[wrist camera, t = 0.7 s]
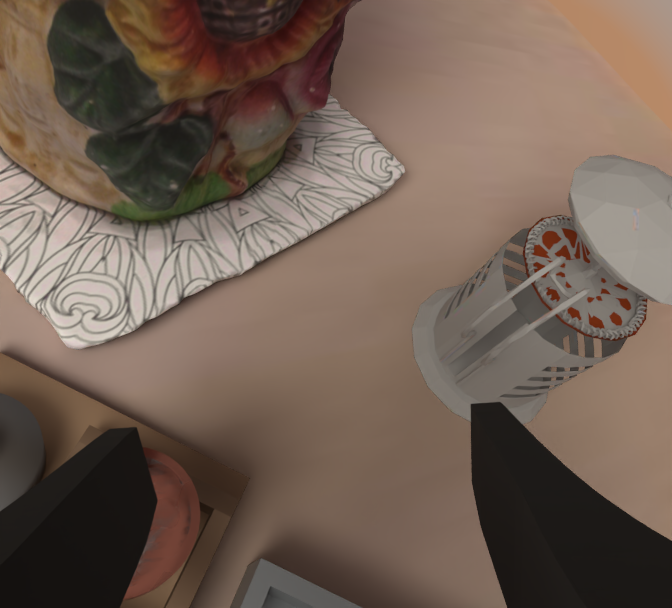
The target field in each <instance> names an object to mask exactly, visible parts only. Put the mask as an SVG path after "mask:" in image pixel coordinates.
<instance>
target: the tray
mask: <svg viewBox="0 0 672 608" xmlns="http://www.w3.org/2000/svg"><path fill="white" fill-rule="evenodd" d="M230 608H362V607H360V606H358V605H356V604H354V603H352V602H350V601H348V600H346V599H344V598H342V597H340V596H338V595H335V594H333V593H331V592H329V591H327V590H325V589H323V588H321V587H319V586H317V585H315V584H313V583H311V582H309V581H307V580H305V579H303V578H301V577H299V576H297V575H295V574H293V573H291V572H289V571H287V570H285V569H283V568H281V567H278V566H276V565H274V564H272V563H270V562H268V561H266V560H264V559H262V558H260V559H259V560H257V561H255V562H253V563H251V564H249V565H248V567H247V569H246V572H245V574H244V576H243V579H242V581H241V583H240V586H239V588H238V590H237V593H236V595H235V597H234V600H233V602H232V604H231V606H230Z"/></svg>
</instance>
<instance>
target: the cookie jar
mask: <svg viewBox="0 0 672 608" xmlns="http://www.w3.org/2000/svg"><path fill="white" fill-rule="evenodd" d="M360 1H361V0H0V269H1V270H2V271H3V272H4V273H5V274H6V275H7V276H8V277H9V278H10V279H11V280H12V281H13V283H14V284H15V287H16V289H17V292H18V293H20V294H21V295H22V296H23V297H24V298H25V300H26V302H27V303H29V304H30V305H32V306H33V307H34V308H36V309H37V310H38V311H39V312H40V313H41V314H42V315H43V316H44V317H45V318H46V319H47V320H48V321H49V322H50V323H51V324H52V326H53V327H54V328H55V330H56V331H57V333H58V335H59V337H60V339H61V340H62V341H63V342H64V344H65V345H66V346H67V347H69V348H73V349H76V350H80V349H83V348H87V347H90V346H94V345H98V344H101V343H105V342H108V341H111V340H113V339H115V338H118V337H120V336H122V335H125V334H127V333H130V332H132V331H135V330H136V329H138V328H139V327H140V326H141V325H142V324H143V323H145V322H146V321H148V320H150V319H153V318H155V317H157V316H159V315H160V314H162V313H164V312H165V311H167V310H168V309H170V308H171V307H174V306H176V305H178V304H179V303H180V302H181V300H182V299H183V298H185V297H187V296H190V295H193V294H195V293H197V292H199V291H201V290H203V289H204V288H206V287H208V286H210V285H212V284H213V283H214V282H217V281H220V280H224V279H229V278H232V277H235V276H239V275H242V274H243V273H244V272H245V271H247V270H249V269H251V268H252V267H254V266H256V265H257V264H259V263H260V262H262V261H263V260H265V259H266V258H268V257H270V256H272V255H274V254H276V253H278V252H280V251H282V250H284V249H286V248H288V247H290V246H292V245H294V244H296V243H297V242H299V241H301V240H302V239H304V238H306V237H308V236H310V235H311V234H313V233H315V232H316V231H318V230H320V229H322V228H324V227H326V226H327V225H329V224H331V223H332V222H334V221H336V220H337V219H339V218H341V217H343V216H344V215H346V214H348V213H350V212H352V211H354V210H356V209H357V208H359V207H360V206H362V205H364V204H367V203H369V202H371V201H373V200H374V199H376V198H378V197H379V196H381V195H383V194H384V193H385V192H387V191H388V190H389V189H390V188H391V187H392V186H393V185H394V184H395V183H396V181H397V180H398V179H399V178H400V177H401V176H402V175H403V173H404V172H405V169H404V166H403V165H402V164H401V163H400V162H398V161H397V159H396V158H395V156H394V155H393V154H391V153H390V152H388V151H387V150H386V148H385V147H384V145H383V144H382V143H381V142H379V141H378V140H377V138H376V137H375V136H374V134H373V133H372V132H371V131H370V130H369V129H368V128H367V127H366V126H364V125H363V124H361V123H360V122H359V121H358V120H357V119H356V118H355V117H353V116H351V115H350V113H349V112H348V111H347V110H344V109H341V108H340V105H339V102H338V101H337V100H336V99H335V98H333V97H332V96H331V95H329V92H330V88H331V75H332V72H333V65H334V60H335V58H336V56H337V53H338V51H339V48H340V46H341V43H342V40H343V32H344V23H345V16H346V14H347V12H348V11H349V9H350V8H352V7H353V6H354V5H355V4H356V3H358V2H360Z"/></svg>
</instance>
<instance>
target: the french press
mask: <svg viewBox="0 0 672 608" xmlns="http://www.w3.org/2000/svg"><path fill="white" fill-rule="evenodd" d="M568 202H569V206H570V210H571V214H572V217H567V216H563V215H558V216H552V217H546V218H541V219H540V220H539V221H538V222H537V223H536V224H535V225H534V226H533V227H532V228H527V229H522V230H521V231H519V232H518V233H517V234H516V235H515V236H513V237H512V238H511V239H510V240H509V241H508V242H507V243H505V244H504V245H503V246H502V247H501V248H500V250H499V251H498V252H497V253H495V254H494V255H493V256H492V257H491V258H490V259H489V260H488V261H487V263H486V264H485V265H483V266H482V267H481V268H480V269H479V270H478V271H477V272H476V273H475V274H474V275H473V276H472V277H471V278H470V279H471V281H470V282H469V283H468V281H469V280H470V279H469V280H467V281H466V282H465V283H464V284H463V285H459V286H454V287H450V288H445V289H441V290H437V291H436V292H435V293H434V294H433V295H432V296H430V297H429V298H428V299H427V300H426V301H425V302H424V303H422V304H421V305H420V308H419V311H418V313H417V316H416V319H415V322H414V324H413V327H412V335H413V348H414V358H415V360H416V362H417V364H418V366H419V368H420V371H421V373H422V375H423V377H424V379H425V381H426V384H427V386H428V387H429V388H430V389H431V390H432V392H433V393H434V394H435V395H436V396H437V397H438V398H439V399H440V400H441V401H442V402H443V403H444V404H445V405H446V407H447V408H448V409H449V410H450V411H451V412H453V413H455V414H457V415H459V416H460V417H462V418H464V419H466V420H468V421H470V422H471V404H475V403H489V402H501V403H502V404H503V405H504V406H506V408H507V409H508V410H509V411H510V412H511V413H512V414H513V415H514V416H515V417H516V418H517V419H518V420H519V421H520V422H521V423H522V424H525V423H527V422H530V421H532V419H533V418H534V417H535V416H536V414H537V413H538V412H539V410H540V409H541V408H542V407H543V405H544V404H545V403H546V399H547V394H548V391H549V390H552V389H555V388H556V387H558V386H560V385H562V383H563V382H566V381H568V380H570V379H572V378H574V377H575V376H577V374H579V373H582V372H584V371H586V370H588V369H589V368H591V367H593V365H594V364H597V363H599V362H602V361H604V360H606V359H607V358H609V357H611V356H612V355H614V354H616V353H617V352H619V351H620V349H621V347H622V346H623V344H624V342H625V341H626V339H627V338H628V337H630V336H633V335H635V334H636V333H637V331H638V330H639V328H640V327H641V326H642V324H643V323H644V321H645V320H646V310H647V299H649V300H651V301H654V302H659V303H663V304H668V305H672V177H671V176H669V175H667V174H666V173H664V172H663V171H661V170H660V169H658V168H656V167H655V166H652V165H648V164H645V163H641V162H637V161H634V160H630V159H627V158H623V157H620V156H616V155H606V156H595V157H590V158H589V159H587V160H586V161H585V162H584V163H583V164H581V165H580V166H579V167H578V168H576V169H575V172H574V176H573V180H572V184H571V189H570V193H569V198H568ZM509 242H510V243H513V244H516V245H519V246H522V247H524V250H523V255H520V254H518V253H516V252H513V251H510V250H506V248H507V246H508V244H509ZM495 255H496V257H495V258H494V260H493V261H491V260H492V258H493V257H494V256H495ZM503 257H505V258H507V259H510V260H512V261H514V262H517V263H519V264H522V265H524V266H525V267H526V272H527V274H526V273H523V272H521V271H518V270H516V269H514V268H511V267H509V266H507V265H504V264H503ZM483 267H484V268H483ZM482 268H483V270H482V271H481V272H479V271H480V270H481V269H482ZM487 268H489V271H488V274H485V273H484V272H485V270H486V269H487ZM503 273H505V274H507V275H509V276H512V277H514V278H517V279H520V280H522V281H523V282H522V283H521V284H519V285H515V284H513V283H511V282H508V281H506V280H505V279H504V274H503ZM475 278H476V279H477V281H476V283H475V284H472V283H473V281H474V279H475ZM481 280H484V281H485V282H484V283H483V284H482V285H480V283H481ZM506 289H508V290H510V291H509V292H507V290H506ZM515 294H517V295H516V296H515V297H513V296H514V295H515ZM512 297H513V298H512ZM577 332H579V333H581V334H583V335H584V341H585V358H584V357H581V356H578V340H577ZM567 335H569V343H570V353H567V352H565V351H564V347H563V338H564V337H566V336H567ZM593 338H598V339H601V342H602V358H594V346H593ZM554 344H555V345H556V346H555V345H554ZM584 366H585V369H584V370H582V371H578V369H579V367H584ZM551 367H557V372H551ZM564 368H570V371H567V372H565V369H564ZM564 376H569V379H566V380H563V377H564ZM551 377H557V378H556V381H551ZM550 385H555V386H554V387H552V388H549V386H550Z"/></svg>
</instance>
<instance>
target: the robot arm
mask: <svg viewBox="0 0 672 608" xmlns="http://www.w3.org/2000/svg"><path fill="white" fill-rule="evenodd" d="M471 459H472V485H473V490H474V495H475V500H476V505H477V510H478V515H479V520H480V525H481V528H482V531H483V535H484V538H485V541H486V544H487V547H488V550H489V553H490V556H491V559H492V562H493V566H494V569H495V572H496V575H497V578H498V581H499V584H500V587H501V590H502V593H503V596H504V599H505V602H506V605H507V608H672V541H671V540H669V539H667V538H666V537H664V536H662V535H661V534H659V533H657V532H655V531H654V530H652V529H650V528H649V527H647V526H646V525H644V524H643V523H641V522H639V521H638V520H636V519H635V518H633V517H632V516H630V515H629V514H627V513H626V512H624V511H623V510H622V509H620V508H619V507H617V506H616V505H614V504H613V503H611V502H610V501H609V500H607V499H606V498H604V497H603V496H602V495H600V494H599V493H598V492H596V491H595V490H594V489H592V488H591V487H590V486H589V485H588V484H586V483H585V482H584V481H583V480H581V479H580V478H579V477H578V476H577V475H575V474H574V473H573V472H572V471H571V470H570V469H569V468H567V467H566V466H565V465H564V464H563V463H562V462H561V461H560V460H559V459H557V458H556V457H555V456H554V455H553V454H552V453H551V452H550V451H549V450H548V449H547V448H546V447H544V446H543V445H542V444H541V443H540V442H539V441H538V440H537V439H536V438H535V437H534V436H533V435H532V434H531V433H530V432H529V431H528V430H527V429H526V428H525V427H524V426H523V425H522V423H521V422H520V421H519V420H518V419H517V418H516V417H515V416H514V415H513V414H512V413H511V412H510V411H509V410H508V409H507V408H506V406H504V405H503V404H502V403H501V402H489V403H475V404H471ZM157 502H158V499H157V496H156V492H155V489H154V485H153V482H152V479H151V475H150V472H149V468H148V465H147V461H146V458H145V454H144V451H143V447H142V444H141V440H140V437H139V433H138V430H137V427H129V428H114V429H109V430H107V431H106V432H104V433H103V434H101V435H100V436H99V437H97V438H96V439H95V440H93V441H92V442H91V443H89V444H88V445H87V446H85V447H84V448H83V449H82V450H80V451H79V452H78V453H76V454H75V455H74V456H73V457H71V458H70V459H69V460H68V461H66V462H65V463H64V464H62V465H61V466H60V467H59V468H57V469H56V470H55V471H54V472H52V473H51V474H50V475H48V476H47V477H46V478H45V479H43V480H42V481H41V482H39V483H38V484H37V485H36V486H34V487H33V488H32V489H30V490H29V491H28V492H26V493H25V494H23V495H22V496H21V497H19V498H18V499H17V500H15V501H14V502H12V503H11V504H10V505H8V506H7V507H6V508H4V509H3V510H1V511H0V608H120V606H121V604H122V601H123V599H124V596H125V594H126V592H127V589H128V587H129V585H130V582H131V580H132V578H133V575H134V573H135V570H136V568H137V565H138V563H139V561H140V558H141V556H142V553H143V551H144V548H145V546H146V543H147V540H148V536H149V533H150V529H151V526H152V522H153V518H154V514H155V510H156V506H157Z"/></svg>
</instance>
